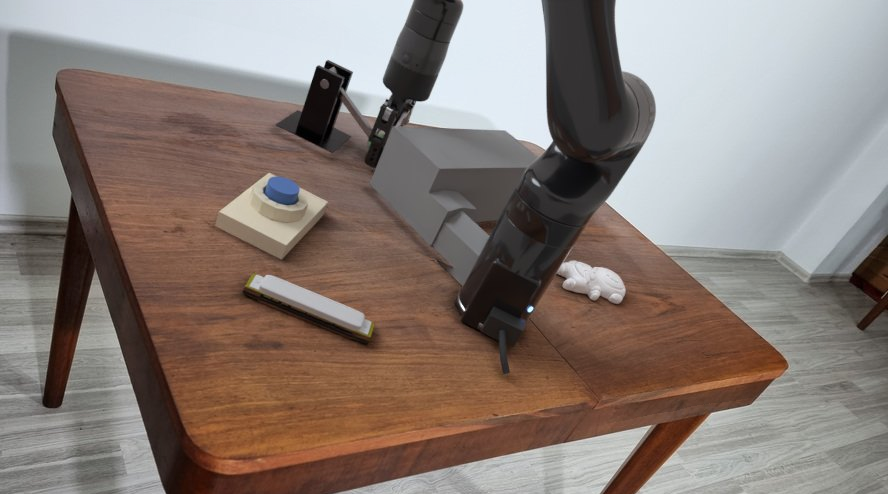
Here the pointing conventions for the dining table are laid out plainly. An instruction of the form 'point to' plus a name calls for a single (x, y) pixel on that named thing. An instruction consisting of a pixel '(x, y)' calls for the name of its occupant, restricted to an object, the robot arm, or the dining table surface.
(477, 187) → the gray stepped block
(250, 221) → the switch box
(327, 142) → the lever bracket
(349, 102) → the green lever
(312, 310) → the harmonica
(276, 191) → the blue button
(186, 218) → the dining table surface
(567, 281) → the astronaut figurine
